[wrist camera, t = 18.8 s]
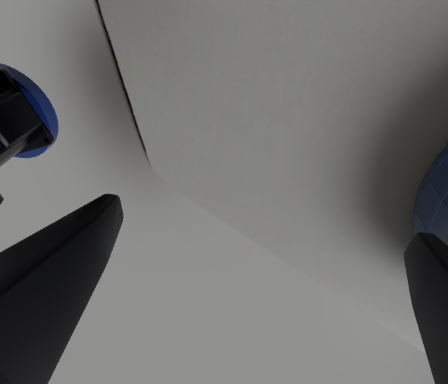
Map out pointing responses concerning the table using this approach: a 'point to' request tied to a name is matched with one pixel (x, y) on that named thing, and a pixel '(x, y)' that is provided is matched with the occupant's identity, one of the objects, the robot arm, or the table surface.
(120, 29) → the table surface
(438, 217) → the bowl
